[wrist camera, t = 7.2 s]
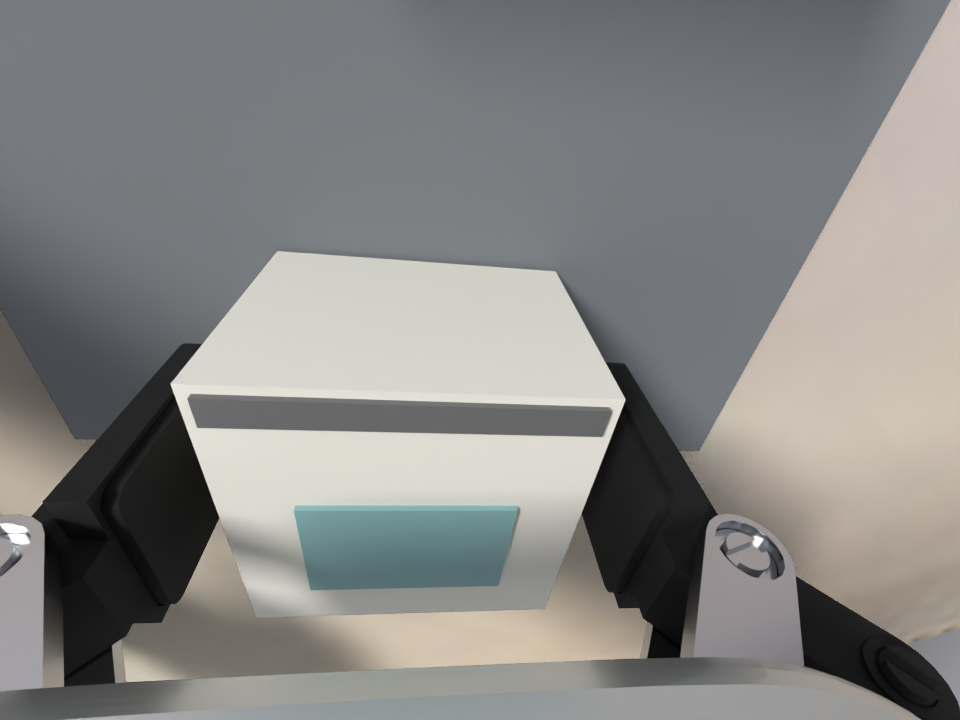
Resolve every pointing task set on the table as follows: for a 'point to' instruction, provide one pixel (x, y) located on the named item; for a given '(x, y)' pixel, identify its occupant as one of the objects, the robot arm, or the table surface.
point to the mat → (430, 165)
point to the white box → (398, 434)
